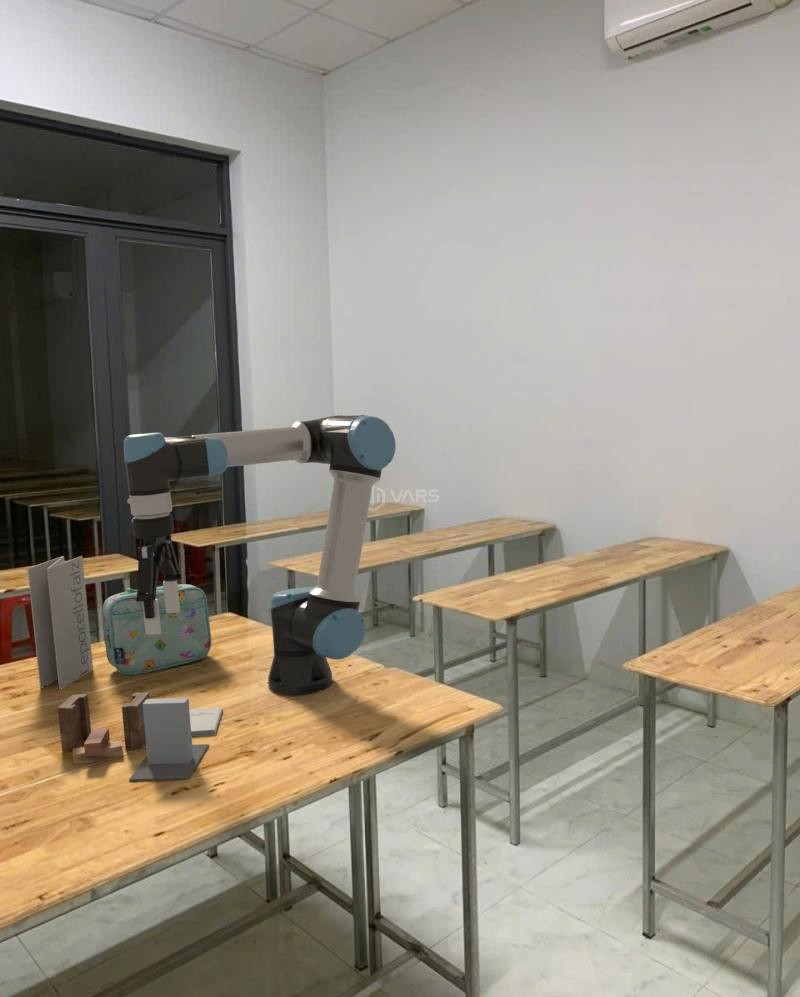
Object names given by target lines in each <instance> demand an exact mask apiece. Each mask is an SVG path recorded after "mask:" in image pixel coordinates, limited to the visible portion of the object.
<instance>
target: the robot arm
mask: <svg viewBox="0 0 800 997" xmlns="http://www.w3.org/2000/svg"><path fill="white" fill-rule="evenodd" d="M396 446H397V444H396V438H395V436H394V433H393V431H392V429H391V428H390V426H389V424H388V422H386V421H384V420H383V419H381V418H379V417H377V416H372V415H364V414H361V415H333V416H332V415H331V416H325V417H322V418H317V419H312V420H306V421H295V422H294V423H292V424H291V426H288V427H275V428H264V429H251V430H241V431H229V432H216V433H207V434H205V433H204V434H192V435H183V436H182V435H181V436H167V435H166V436H164V434H163V433H161V432H147V433H136V434H134V433H133V434H130V435H127V436H126V437H125V438H124V439H123V458H124V459H123V461H124V465H125V473H126V481H127V489H128V497H129V498H128V499H127V501H126V502H127V504H129V505H130V506H129V507H130V514H131V516H133V517H132V519H131V526H132V534H133V536H134V537H135V538H136V539H142V540H143V546H138V547H137V557H138V558H137V560H138V561H137V562H138V564H137V584H136V585H137V586H136V587H137V588H136V590H137V597H136V600H137V602H142V606H143V615H144V624H145V633H146V635H153V634H161V624H160V615H159V606H158V599H156V589H157V587H158V580H159V571H160V573H161V575H162V577H163V579H164V580H163V582H162V586H163V589H164V598H165V607H166V613H180V602H179V593H178V584H179V583H178V580H181V579H182V574H181V570H180V567H179V564H178V559H177V556H176V552H175V549H174V545H173V541H172V540H173V539H172V535H173V533H174V532H175V526H174V525H175V524H174V517H173V515H172V514H171V512H172V511H173V504H172V496H171V486H170V482H171V481H172V482H174V481H181V480H186V479H187V480H188V479H195V478H204V477H209V478H210V477H213V476H217V475H220V474H223V473H224V472H225V471H226V469H227V468H231V467H242V466H251V465H259V464H269V463H279V462H287V461H288V462H289V461H295V462H296V463H298V464H309V463H312V464H313V463H315V464H325V465H329V470H328V472H329V473H330V475H331V476H332V478H333V487H332V494H331V498H330V505H329V510H328V518H327V522H326V529H325V534H324V539H323V540H324V541H323V547H322V553H321V557H320V558H321V559H320V563H319V564H320V565H319V571H318V577H317V584H316V585H315V586H304V587H303V586H302V587H296V588H288V589H285V590H281V591H278V592H275V593H274V594H273V595H272V596H271V598H270V612H271V613H270V614H271V627H272V642H273V658H272V662H271V666H270V668H269V673H268V676H267V679H268V680H267V681H268V682H267V683H268V689H269V690H270V691H271V692H273V693H275V694H277V695H278V694H279V695H283V696H286V695H287V696H302V695H305V696H306V695H310V694H314V693H318V692H321V691H324V690H326V689H327V688H329V687H330V686H331V685H332V684H333V672H332V670H331V667H330V664H329V662H328V659H331V660H342V659H345V658H348V657H350V656H351V655H352V654H353V653H354V652H355V651H357V650H358V648H360V646H361V644H362V643H363V641H364V638H365V635H366V622H365V620H364V618H363V615H362V614H361V613H360V611H359V610H360V604H361V598H360V597H359V595H358V594H357V592H356V585H357V581H358V573H359V568H360V562H361V556H362V550H363V544H364V538H365V532H366V526H367V520H368V514H369V509H370V508H369V506H370V501H371V495H372V489H373V487H374V485H375V484H377V483H378V482H380V481H381V476H382V471H383V470H384V468H386V467H388V466H389V464H390V463H391V462H392V461H393V459H394V457H395V453H396ZM146 593H148V594H146ZM327 658H328V659H327Z"/></svg>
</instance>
